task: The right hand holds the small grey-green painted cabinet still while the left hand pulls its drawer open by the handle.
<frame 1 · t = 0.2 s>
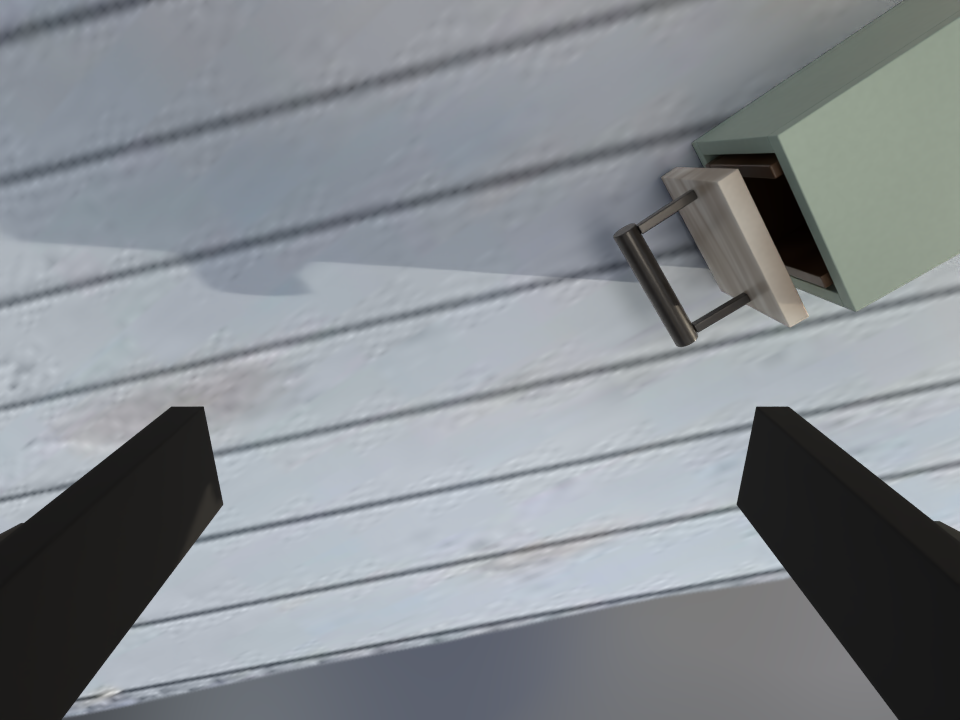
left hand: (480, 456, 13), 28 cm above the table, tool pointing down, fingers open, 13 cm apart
drawer: (822, 182, 32), point 6 cm above the table, slide at 1.8 cm
cabinet: (860, 124, 36), on the table
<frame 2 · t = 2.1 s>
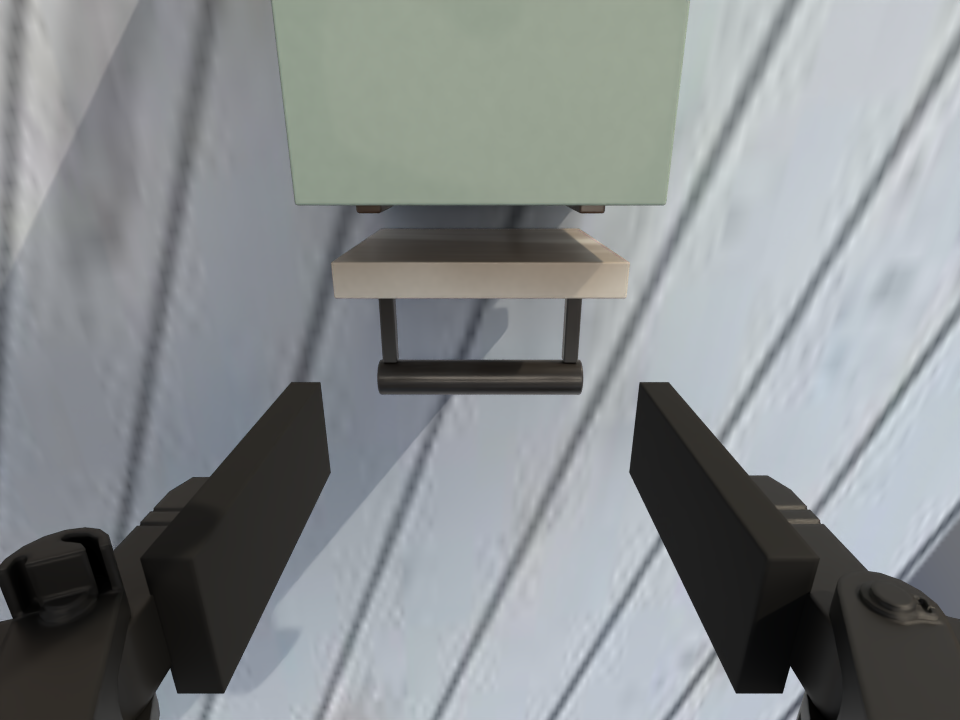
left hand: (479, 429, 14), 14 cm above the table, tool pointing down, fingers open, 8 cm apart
drawer: (480, 87, 19), point 6 cm above the table, slide at 1.8 cm
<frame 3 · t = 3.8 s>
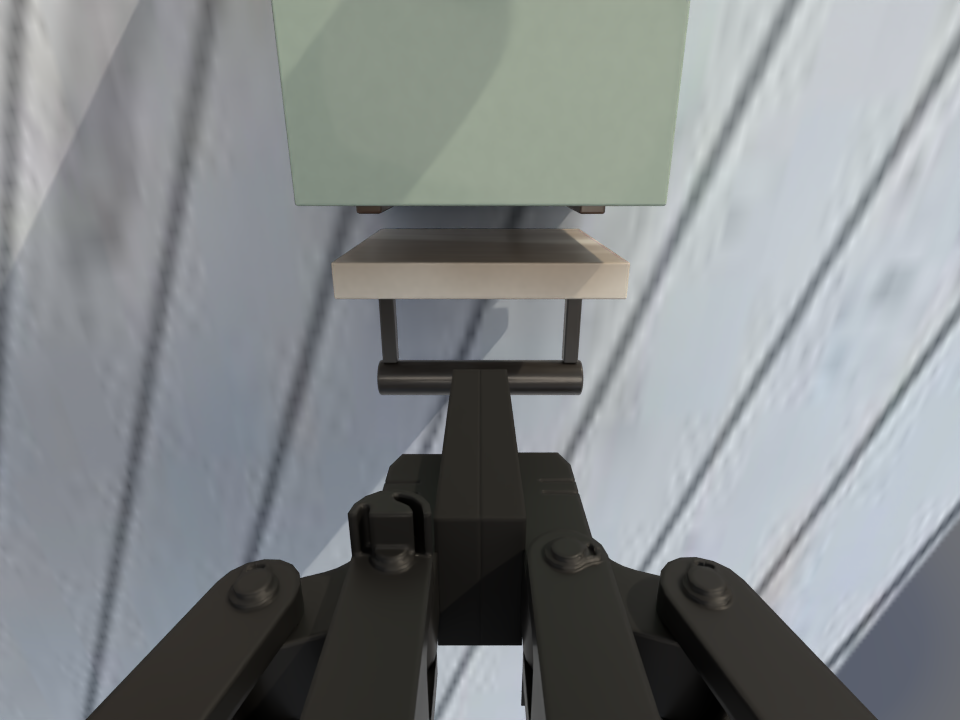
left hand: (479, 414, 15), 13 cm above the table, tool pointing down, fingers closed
drawer: (480, 87, 19), point 6 cm above the table, slide at 1.8 cm
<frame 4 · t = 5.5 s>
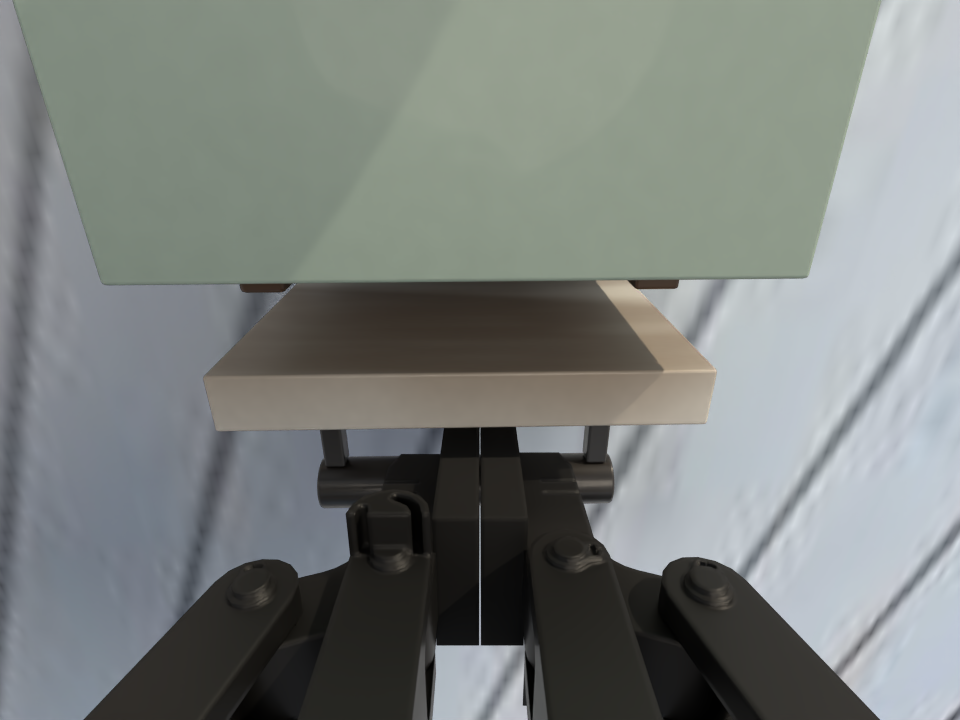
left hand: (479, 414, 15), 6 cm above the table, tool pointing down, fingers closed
drawer: (459, 55, 12), point 6 cm above the table, slide at 2.0 cm
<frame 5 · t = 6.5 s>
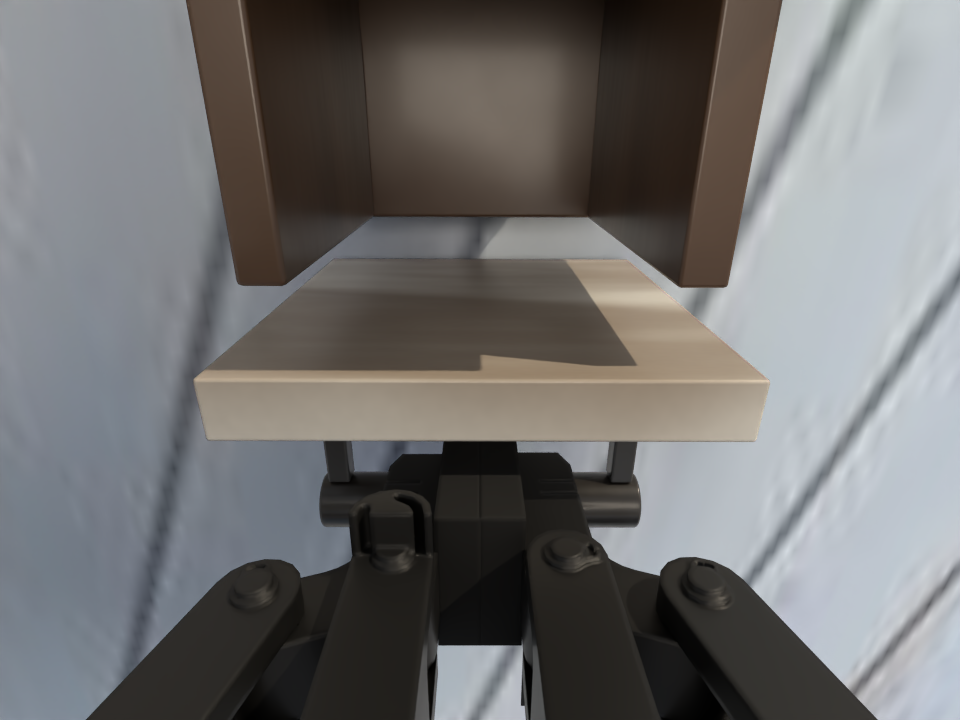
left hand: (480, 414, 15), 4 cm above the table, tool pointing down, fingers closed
drawer: (482, 37, 11), point 5 cm above the table, slide at 6.9 cm, touching left hand
when the right hand's fingers open (6 cm above the table, at t = 8.4 s): cabinet stays where it is, on the table.
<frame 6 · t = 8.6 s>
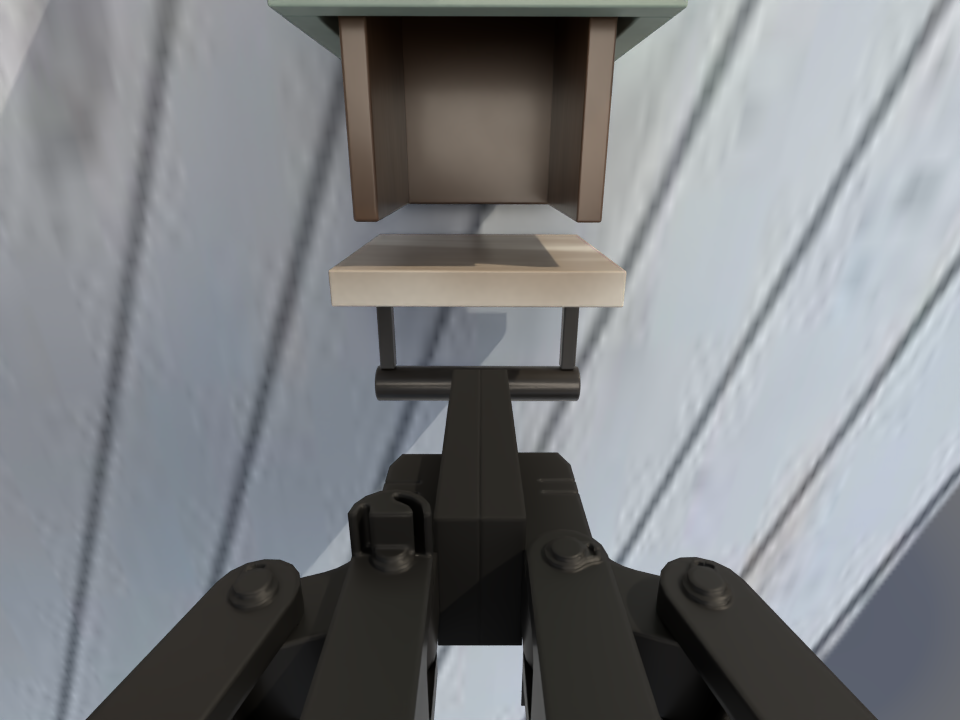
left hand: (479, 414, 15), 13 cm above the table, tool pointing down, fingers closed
drawer: (478, 95, 19), point 6 cm above the table, slide at 6.9 cm
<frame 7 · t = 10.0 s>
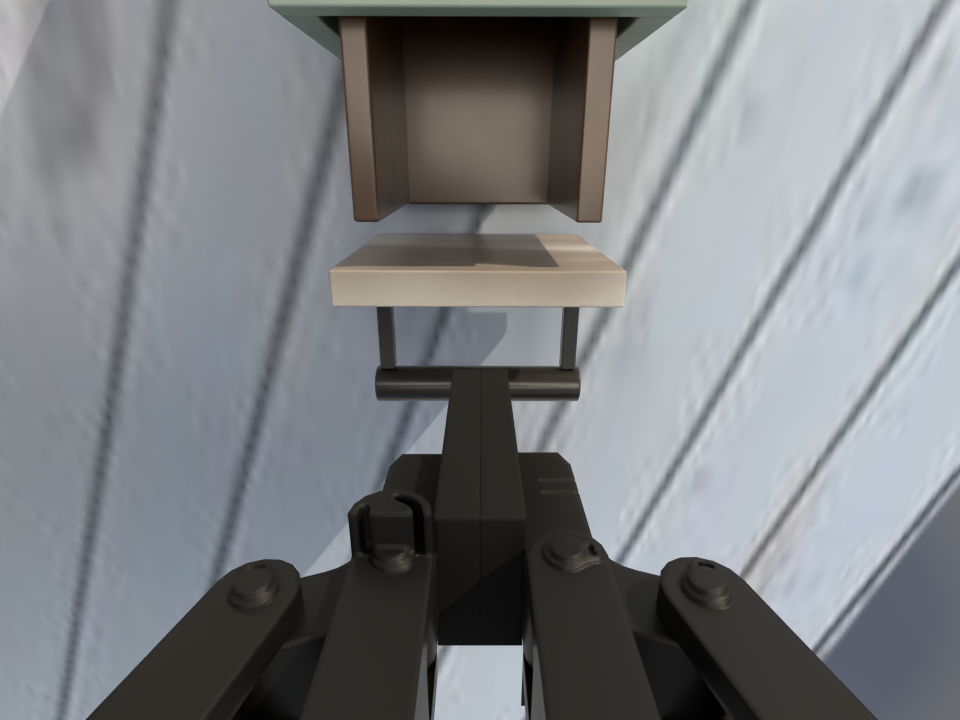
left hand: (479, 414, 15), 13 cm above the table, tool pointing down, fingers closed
drawer: (478, 95, 19), point 6 cm above the table, slide at 6.9 cm
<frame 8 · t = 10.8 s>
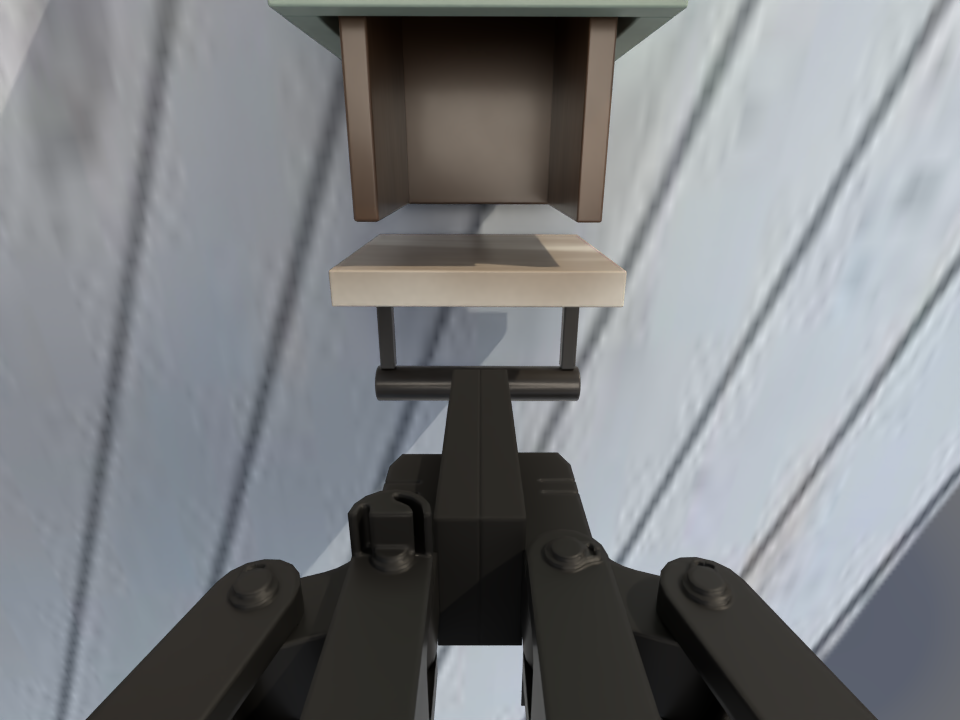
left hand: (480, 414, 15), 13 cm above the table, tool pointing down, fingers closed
drawer: (478, 95, 19), point 6 cm above the table, slide at 6.9 cm
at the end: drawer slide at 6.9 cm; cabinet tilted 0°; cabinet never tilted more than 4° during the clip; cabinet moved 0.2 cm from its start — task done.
